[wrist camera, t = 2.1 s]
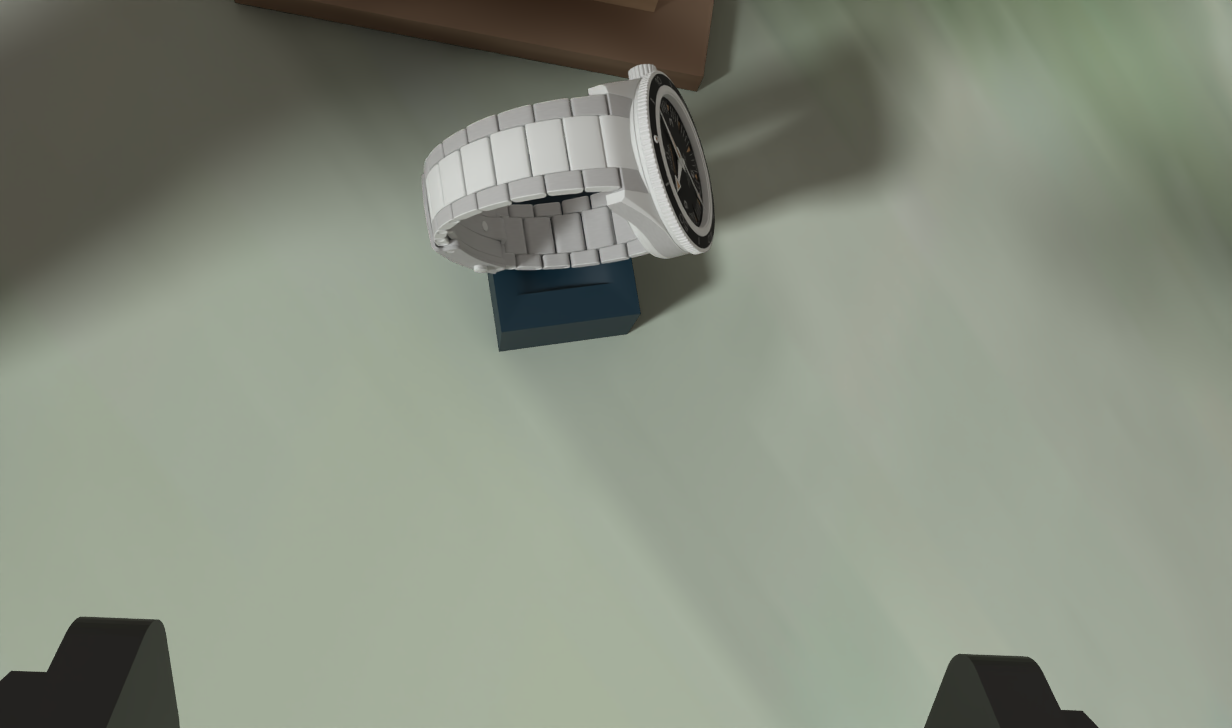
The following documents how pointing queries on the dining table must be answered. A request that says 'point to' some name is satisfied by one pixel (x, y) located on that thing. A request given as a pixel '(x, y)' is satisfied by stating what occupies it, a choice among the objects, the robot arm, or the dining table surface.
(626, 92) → the watch
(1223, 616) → the dining table surface
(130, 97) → the dining table surface
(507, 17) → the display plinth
